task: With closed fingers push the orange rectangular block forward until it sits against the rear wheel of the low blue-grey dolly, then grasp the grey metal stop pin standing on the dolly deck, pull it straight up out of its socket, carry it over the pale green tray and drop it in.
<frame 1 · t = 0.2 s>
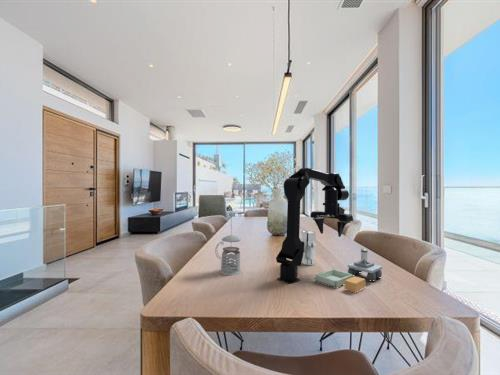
hand: (330, 235, 122), 14 cm above the table, tool pointing down, fingers open, 9 cm apart
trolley: (364, 277, 109), on the table
tray: (334, 281, 104), on the table
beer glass: (308, 264, 127), on the table
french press: (228, 271, 114), on the table
pin: (364, 265, 110), point 5 cm above the table, touching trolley
orange rectangular block: (355, 289, 96), on the table
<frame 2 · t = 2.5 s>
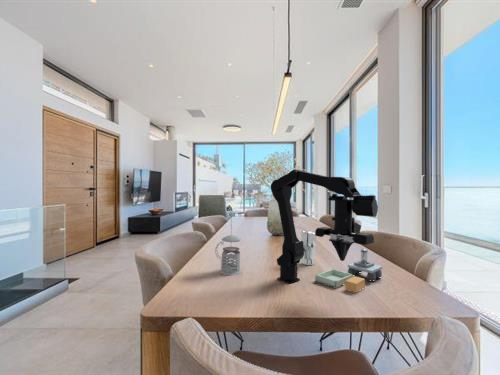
hand: (342, 260, 91), 12 cm above the table, tool pointing down, fingers closed
nothing on the table moved.
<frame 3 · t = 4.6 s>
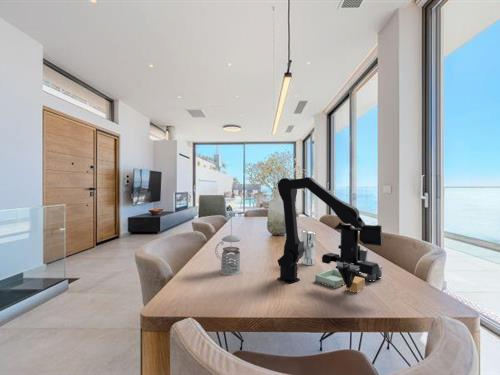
hand: (348, 287, 93), 2 cm above the table, tool pointing down, fingers closed
orange rectangular block: (355, 289, 97), on the table, touching gripper
everything else where it was.
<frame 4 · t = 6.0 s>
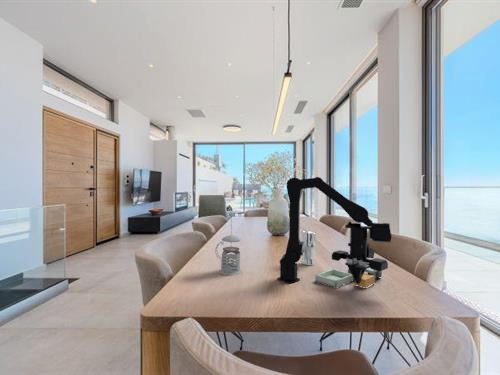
hand: (357, 283, 98), 2 cm above the table, tool pointing down, fingers closed
orange rectangular block: (364, 285, 100), on the table
everything else where it was.
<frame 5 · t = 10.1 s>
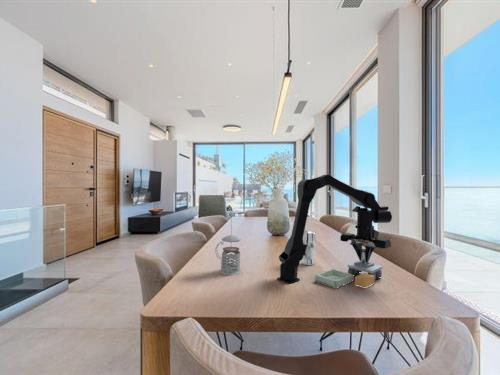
hand: (364, 261, 110), 6 cm above the table, tool pointing down, fingers closed on pin, 2 cm apart
pin: (364, 265, 110), point 5 cm above the table, touching gripper, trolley
everything else where it was.
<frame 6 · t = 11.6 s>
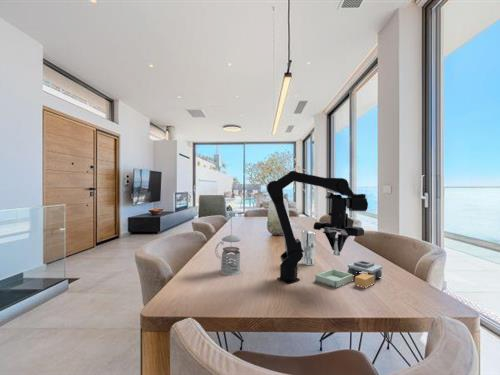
hand: (336, 250, 104), 12 cm above the table, tool pointing down, fingers closed on pin, 2 cm apart
pin: (336, 254, 104), point 10 cm above the table, touching gripper
everything else where it was.
when the fingers open (4 cm above the table, at t = 13.2 s): pin drops 2 cm, resting on tray.
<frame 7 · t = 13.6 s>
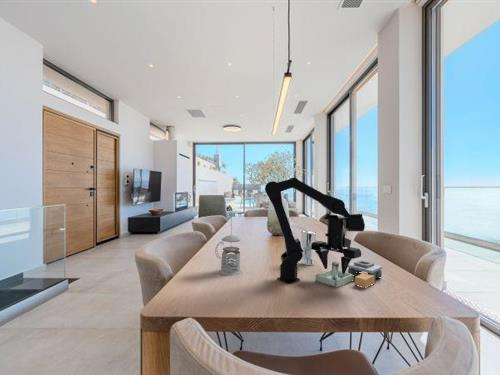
hand: (334, 271, 104), 4 cm above the table, tool pointing down, fingers open, 7 cm apart
pin: (334, 279, 104), point 1 cm above the table, touching tray
everything else where it was.
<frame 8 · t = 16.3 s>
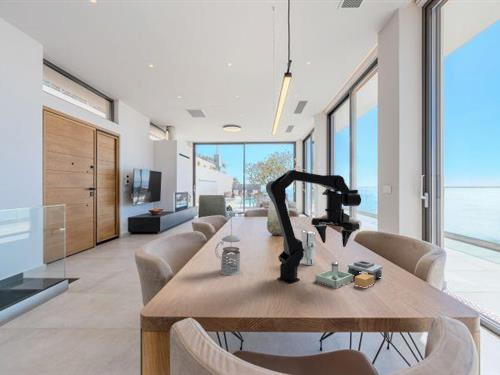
hand: (333, 244, 109), 13 cm above the table, tool pointing down, fingers open, 9 cm apart
nothing on the table moved.
at the end: orange rectangular block 0.4 cm from the target spot, on the table; pin inside the target area on the tray (0.0 cm from its centre), point 0.6 cm above the tray's base; the gripper is holding nothing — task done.
